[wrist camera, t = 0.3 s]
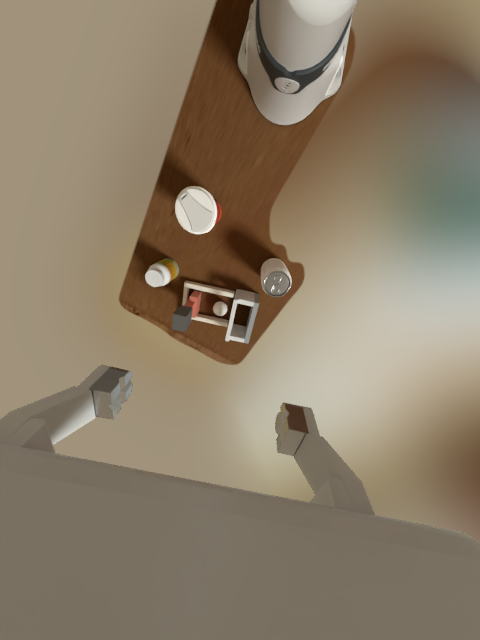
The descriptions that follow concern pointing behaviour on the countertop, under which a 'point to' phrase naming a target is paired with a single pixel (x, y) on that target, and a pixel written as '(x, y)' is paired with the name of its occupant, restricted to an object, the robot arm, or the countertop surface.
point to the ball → (220, 308)
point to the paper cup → (197, 210)
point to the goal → (244, 332)
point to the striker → (186, 312)
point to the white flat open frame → (211, 290)
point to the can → (275, 277)
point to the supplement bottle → (162, 272)
